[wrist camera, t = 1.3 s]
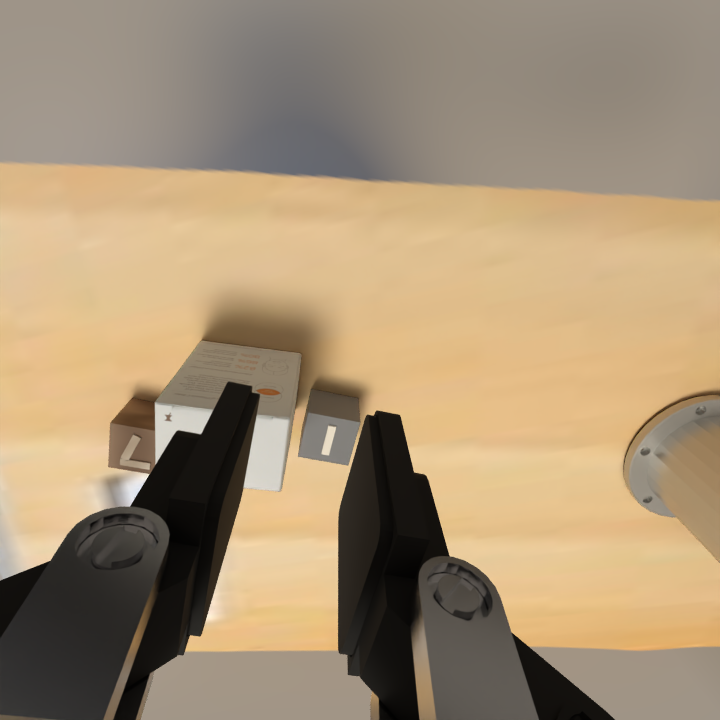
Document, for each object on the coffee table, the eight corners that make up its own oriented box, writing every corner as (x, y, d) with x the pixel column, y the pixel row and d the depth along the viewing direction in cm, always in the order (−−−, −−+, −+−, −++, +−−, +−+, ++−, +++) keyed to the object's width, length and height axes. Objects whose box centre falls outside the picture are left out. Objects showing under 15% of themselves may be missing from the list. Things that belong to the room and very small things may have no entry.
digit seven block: (182, 406, 38) (165, 433, 35) (178, 446, 40) (160, 477, 36) (132, 397, 38) (109, 424, 34) (129, 438, 39) (107, 468, 36)
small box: (198, 400, 38) (150, 482, 28) (200, 337, 36) (149, 402, 26) (295, 412, 39) (281, 495, 29) (303, 351, 37) (291, 419, 27)
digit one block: (358, 397, 39) (360, 423, 35) (347, 437, 40) (348, 466, 36) (311, 388, 38) (307, 413, 34) (301, 429, 40) (297, 457, 36)
